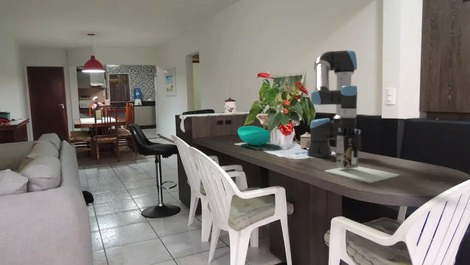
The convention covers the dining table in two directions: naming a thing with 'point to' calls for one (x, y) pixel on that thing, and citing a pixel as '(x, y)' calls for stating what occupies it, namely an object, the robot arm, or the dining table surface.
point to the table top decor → (254, 135)
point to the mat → (362, 174)
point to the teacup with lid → (305, 140)
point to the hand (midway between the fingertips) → (347, 162)
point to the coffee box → (345, 152)
